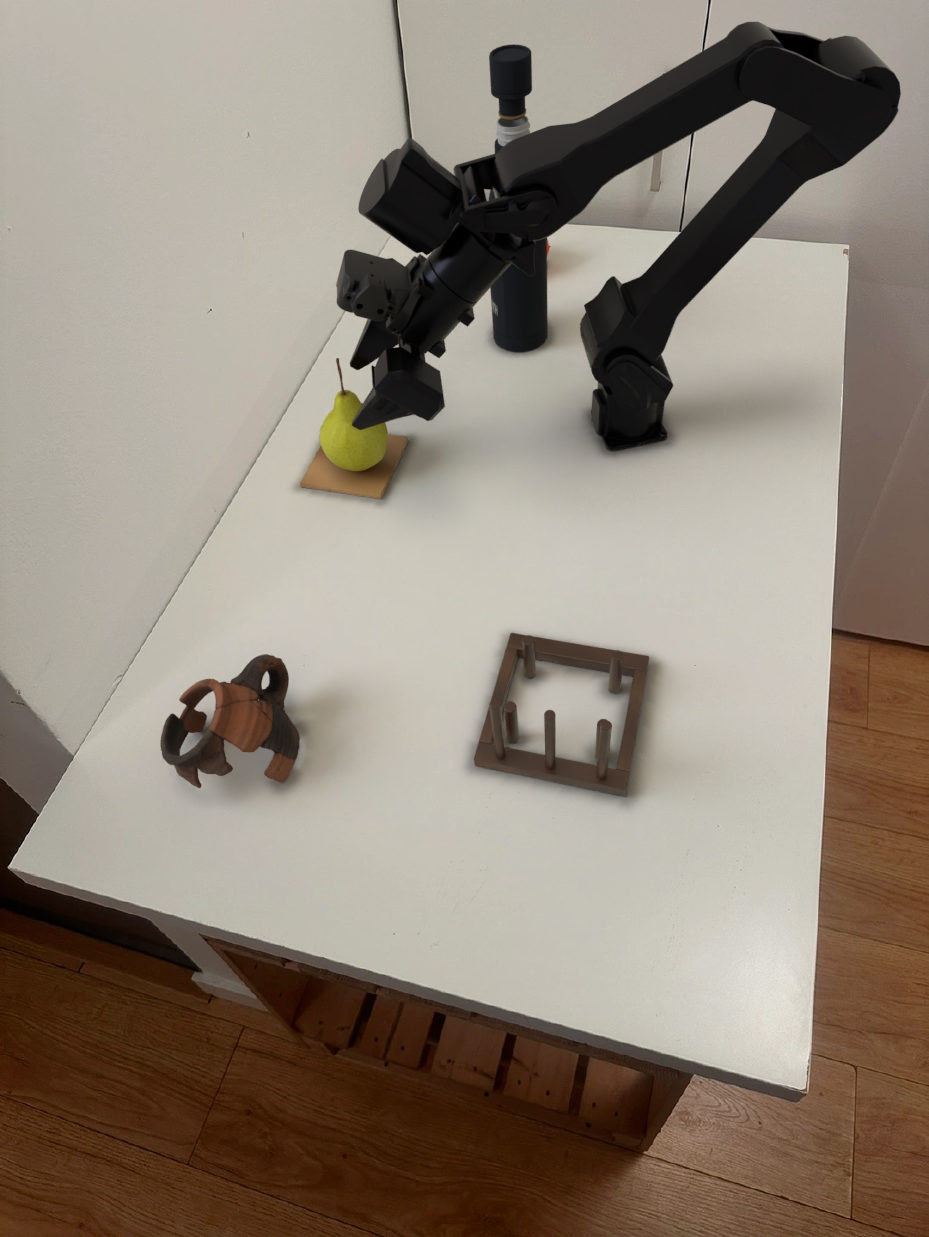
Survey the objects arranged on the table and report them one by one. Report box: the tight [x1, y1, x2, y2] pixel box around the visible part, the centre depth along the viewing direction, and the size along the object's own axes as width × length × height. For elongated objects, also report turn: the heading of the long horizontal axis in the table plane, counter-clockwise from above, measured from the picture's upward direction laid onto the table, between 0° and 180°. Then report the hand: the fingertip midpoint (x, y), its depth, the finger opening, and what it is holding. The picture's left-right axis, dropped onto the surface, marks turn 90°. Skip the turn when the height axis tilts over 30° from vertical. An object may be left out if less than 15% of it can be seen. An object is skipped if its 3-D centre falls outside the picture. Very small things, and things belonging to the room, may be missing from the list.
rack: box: [473, 632, 650, 798], centre depth 68 cm, size 13×12×9 cm
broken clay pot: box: [159, 653, 301, 789], centre depth 70 cm, size 12×10×8 cm
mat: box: [299, 433, 410, 500], centre depth 91 cm, size 9×9×1 cm
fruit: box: [319, 357, 389, 471], centre depth 86 cm, size 7×7×12 cm
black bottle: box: [488, 44, 549, 353], centre depth 90 cm, size 6×6×30 cm
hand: (354, 396), depth 85 cm, fingers open, 9 cm apart
